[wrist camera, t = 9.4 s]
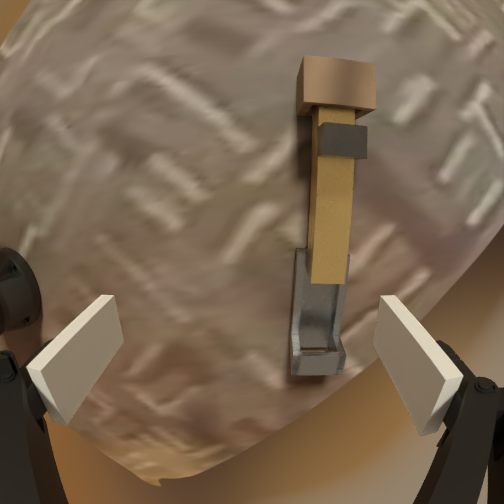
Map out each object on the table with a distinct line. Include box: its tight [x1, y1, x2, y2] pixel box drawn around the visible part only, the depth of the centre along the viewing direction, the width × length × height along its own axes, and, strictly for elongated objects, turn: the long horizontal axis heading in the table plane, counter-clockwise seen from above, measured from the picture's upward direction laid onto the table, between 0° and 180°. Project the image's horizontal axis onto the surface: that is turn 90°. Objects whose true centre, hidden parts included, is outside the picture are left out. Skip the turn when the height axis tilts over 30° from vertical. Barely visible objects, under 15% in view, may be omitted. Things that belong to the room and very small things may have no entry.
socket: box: [297, 55, 376, 120], centre depth 29 cm, size 7×5×8 cm
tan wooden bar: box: [306, 105, 367, 284], centre depth 30 cm, size 4×22×9 cm, turn 179°
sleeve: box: [289, 248, 350, 375], centre depth 37 cm, size 6×14×7 cm, turn 179°
